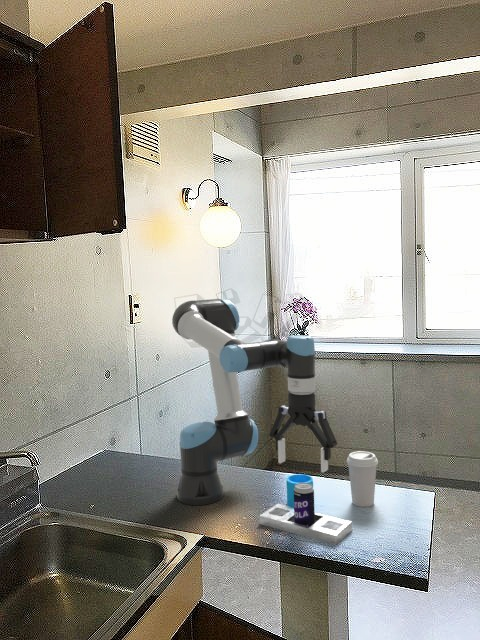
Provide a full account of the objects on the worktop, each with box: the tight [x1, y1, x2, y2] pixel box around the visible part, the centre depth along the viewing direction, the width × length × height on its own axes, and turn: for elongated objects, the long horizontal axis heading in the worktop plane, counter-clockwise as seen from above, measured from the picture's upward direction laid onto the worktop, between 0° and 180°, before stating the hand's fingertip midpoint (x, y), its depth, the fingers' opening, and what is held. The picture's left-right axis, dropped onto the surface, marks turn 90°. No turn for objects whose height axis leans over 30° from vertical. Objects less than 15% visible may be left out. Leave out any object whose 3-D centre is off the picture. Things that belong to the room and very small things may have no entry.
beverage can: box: [294, 483, 316, 527], centre depth 157 cm, size 6×6×12 cm
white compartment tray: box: [259, 503, 353, 546], centre depth 158 cm, size 24×10×3 cm, turn 54°
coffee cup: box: [345, 450, 379, 508], centre depth 173 cm, size 10×10×15 cm
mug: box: [285, 473, 314, 507], centre depth 175 cm, size 12×8×8 cm
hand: (302, 466), depth 157 cm, fingers open, 13 cm apart
